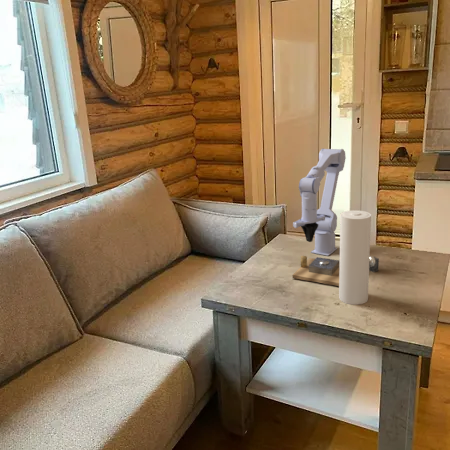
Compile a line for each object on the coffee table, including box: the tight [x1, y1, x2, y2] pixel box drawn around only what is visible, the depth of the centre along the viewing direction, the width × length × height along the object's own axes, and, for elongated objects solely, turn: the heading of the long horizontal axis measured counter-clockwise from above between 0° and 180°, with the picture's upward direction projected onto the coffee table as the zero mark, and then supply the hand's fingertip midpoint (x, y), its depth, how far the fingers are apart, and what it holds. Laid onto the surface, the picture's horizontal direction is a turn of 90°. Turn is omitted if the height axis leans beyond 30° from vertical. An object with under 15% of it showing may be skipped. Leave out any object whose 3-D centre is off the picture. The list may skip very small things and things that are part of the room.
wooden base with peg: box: [292, 255, 340, 287], centre depth 172 cm, size 18×18×5 cm
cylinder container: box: [338, 209, 372, 306], centre depth 149 cm, size 9×9×30 cm
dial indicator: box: [369, 255, 380, 273], centre depth 172 cm, size 3×4×6 cm
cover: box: [309, 256, 340, 276], centre depth 173 cm, size 9×9×3 cm
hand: (309, 241), depth 180 cm, fingers closed
